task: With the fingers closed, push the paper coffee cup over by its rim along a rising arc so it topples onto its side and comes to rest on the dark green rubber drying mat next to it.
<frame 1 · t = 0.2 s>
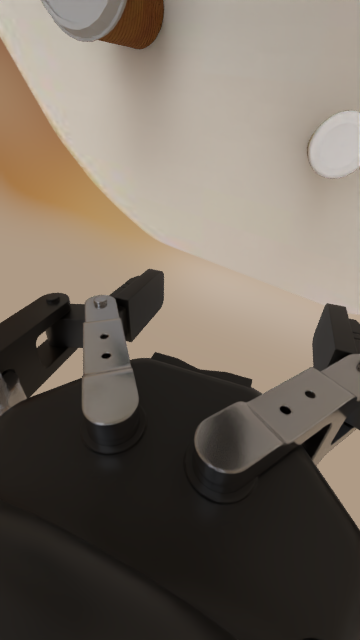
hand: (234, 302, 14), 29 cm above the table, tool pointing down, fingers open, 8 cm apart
disposable coffee cup: (139, 12, 32), on the table
sprinkles bottle: (327, 145, 32), on the table
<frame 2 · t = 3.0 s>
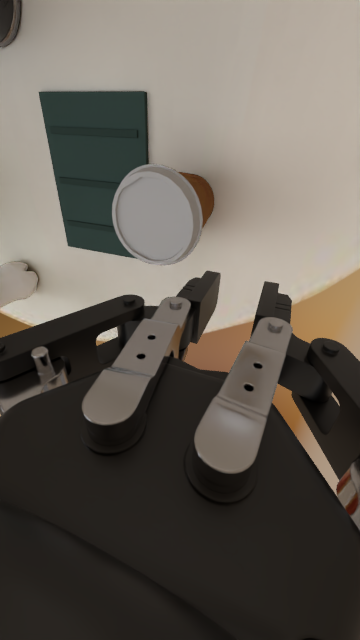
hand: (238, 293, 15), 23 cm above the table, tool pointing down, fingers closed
disposable coffee cup: (191, 201, 36), on the table
drying mat: (101, 183, 39), on the table
water bottle: (28, 275, 54), on the table
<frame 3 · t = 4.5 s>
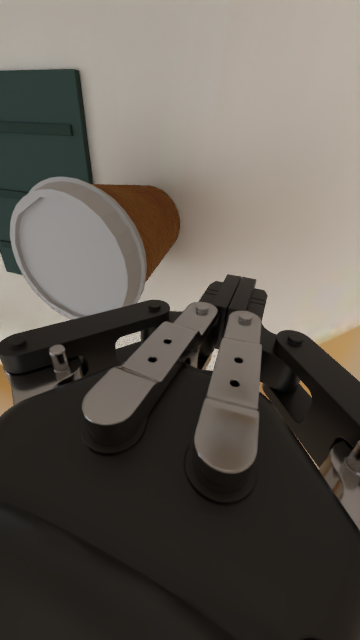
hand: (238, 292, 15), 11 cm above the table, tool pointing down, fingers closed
disposable coffee cup: (150, 220, 27), on the table
drying mat: (35, 195, 29), on the table
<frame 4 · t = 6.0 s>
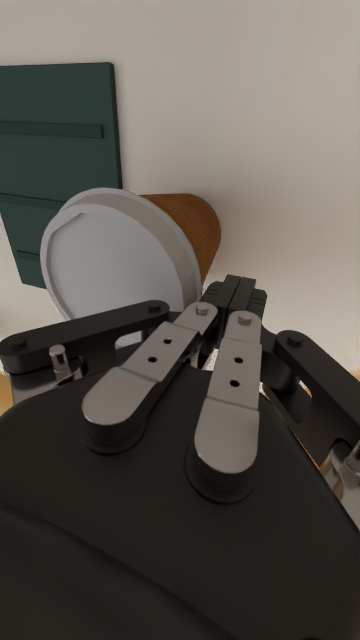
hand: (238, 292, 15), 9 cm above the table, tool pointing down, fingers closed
disposable coffee cup: (186, 232, 24), on the table, touching gripper
drying mat: (57, 203, 27), on the table
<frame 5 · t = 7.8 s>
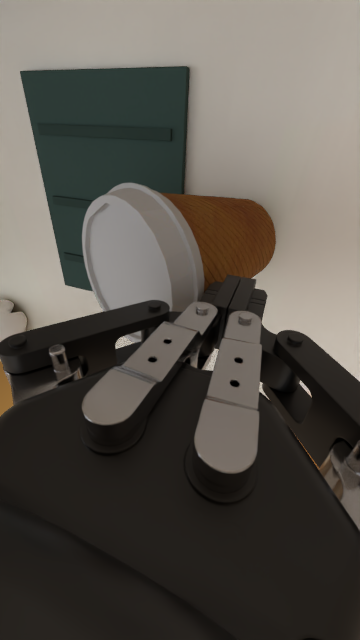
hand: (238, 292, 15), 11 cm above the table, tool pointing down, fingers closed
disposable coffee cup: (242, 239, 23), point 1 cm above the table
drying mat: (111, 205, 27), on the table
water bottle: (15, 314, 42), on the table
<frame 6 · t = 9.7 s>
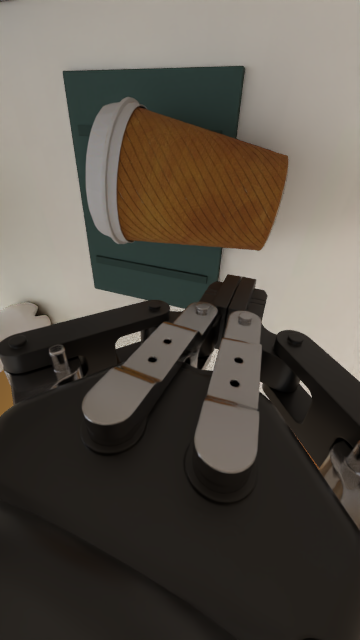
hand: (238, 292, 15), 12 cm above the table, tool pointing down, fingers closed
disposable coffee cup: (275, 206, 20), point 3 cm above the table, touching drying mat
drying mat: (150, 208, 26), on the table
water bottle: (38, 317, 42), on the table
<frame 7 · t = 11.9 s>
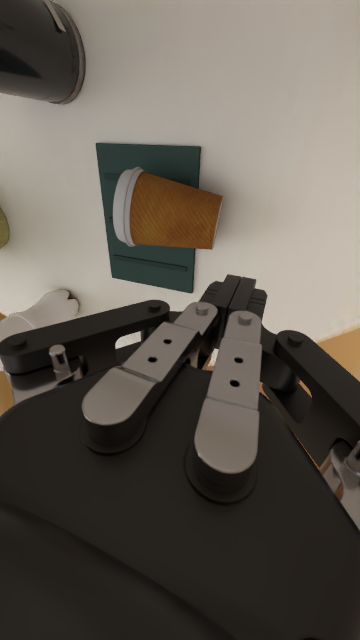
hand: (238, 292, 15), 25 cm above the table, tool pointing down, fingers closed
disposable coffee cup: (219, 224, 34), point 3 cm above the table, touching drying mat
drying mat: (149, 223, 41), on the table
water bottle: (68, 301, 57), on the table
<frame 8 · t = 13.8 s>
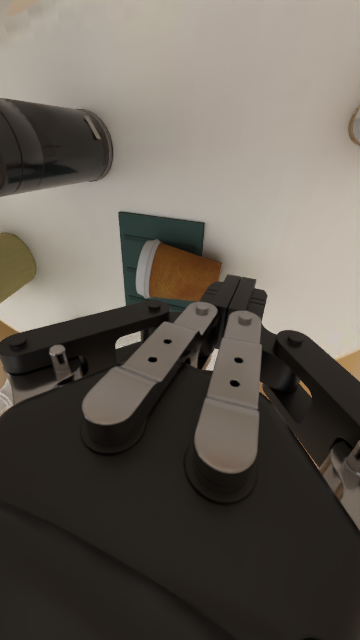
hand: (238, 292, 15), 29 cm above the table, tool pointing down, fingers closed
disposable coffee cup: (218, 283, 43), point 3 cm above the table, touching drying mat
potted cactus: (16, 257, 61), on the table
drying mat: (160, 273, 50), on the table
water bottle: (86, 328, 65), on the table
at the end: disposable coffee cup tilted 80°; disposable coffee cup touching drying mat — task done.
